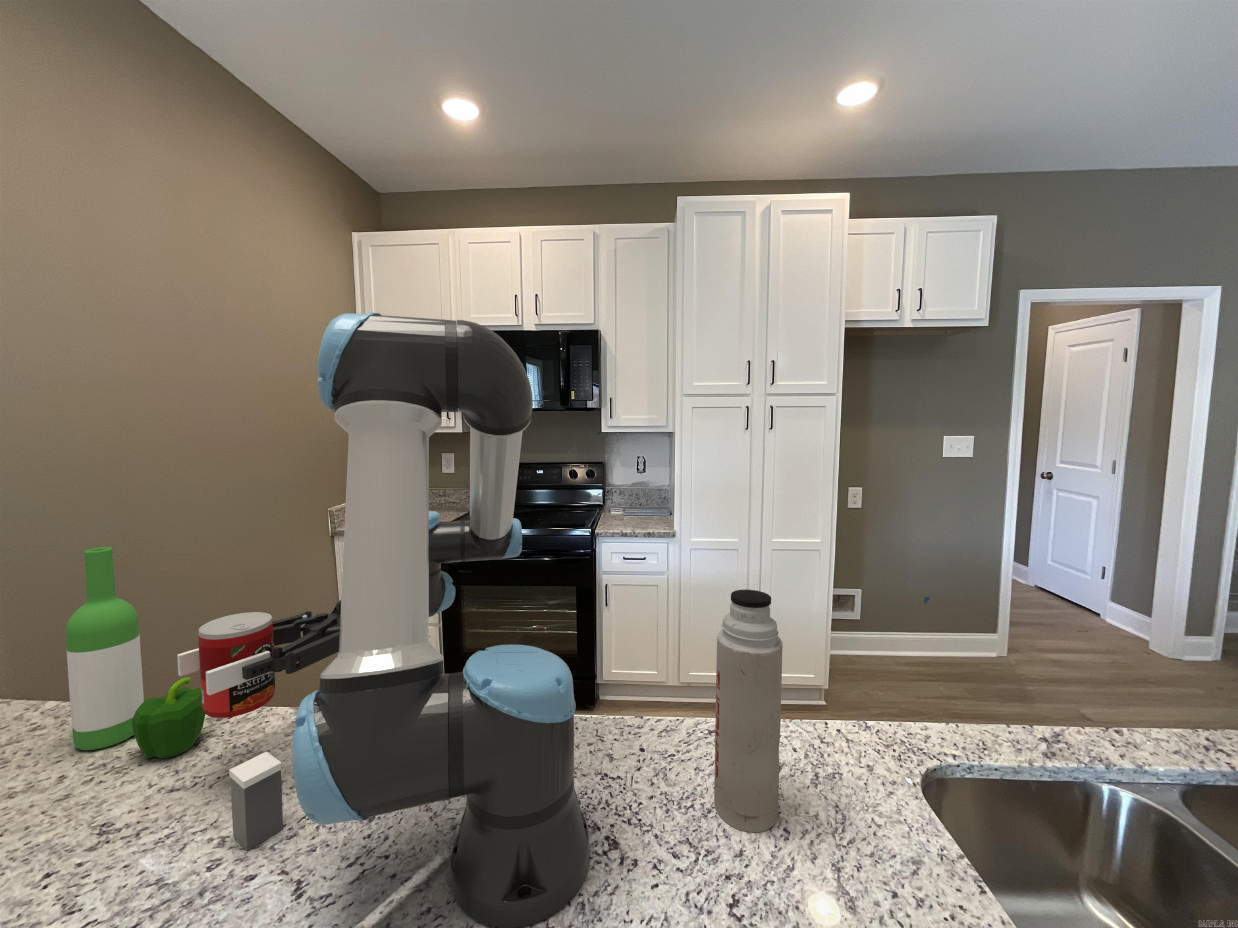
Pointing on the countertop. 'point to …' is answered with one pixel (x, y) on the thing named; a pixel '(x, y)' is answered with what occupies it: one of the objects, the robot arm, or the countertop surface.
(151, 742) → the bell pepper
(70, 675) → the wine bottle
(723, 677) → the thermos bottle
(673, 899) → the countertop surface
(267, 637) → the canned food
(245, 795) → the toggle
